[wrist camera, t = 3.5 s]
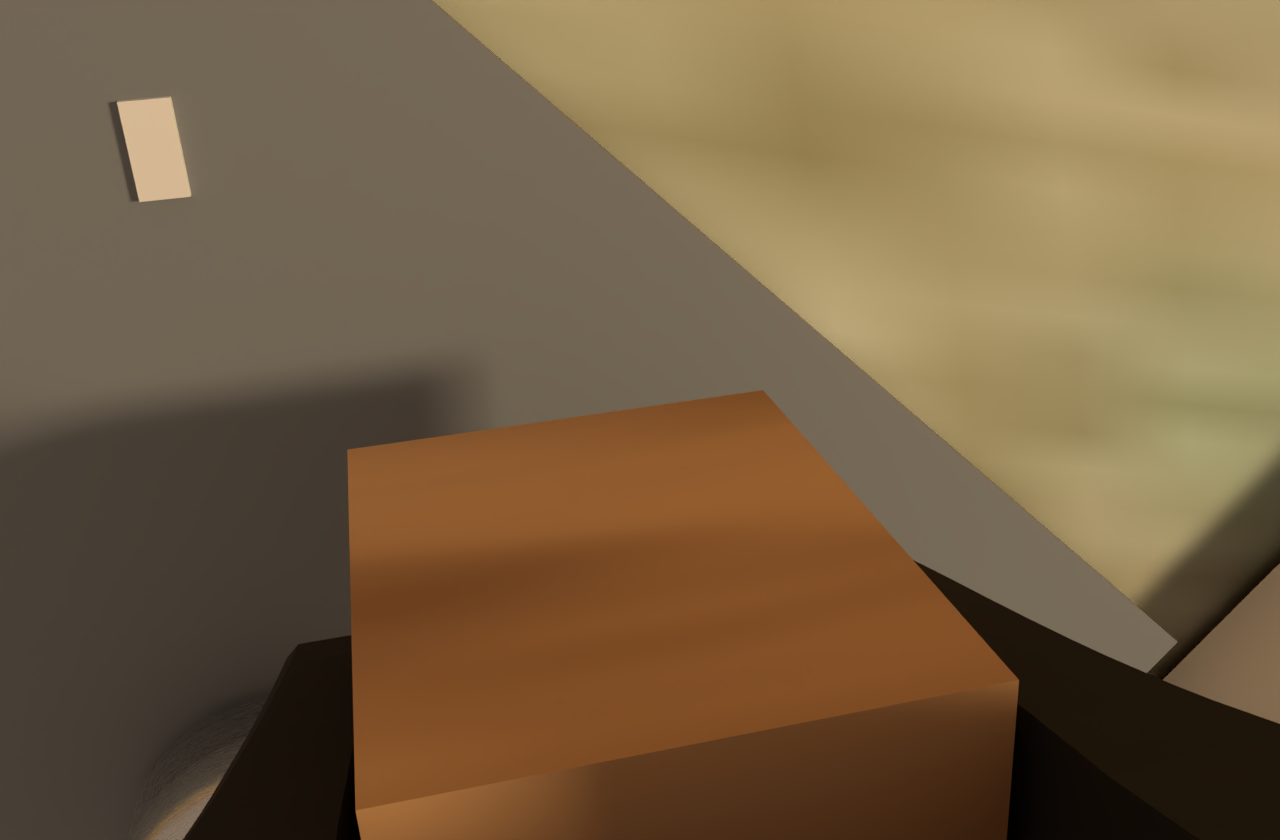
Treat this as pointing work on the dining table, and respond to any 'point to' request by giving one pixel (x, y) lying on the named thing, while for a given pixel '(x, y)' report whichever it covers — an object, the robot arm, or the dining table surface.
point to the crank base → (345, 355)
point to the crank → (190, 774)
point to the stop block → (656, 642)
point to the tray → (1240, 655)
